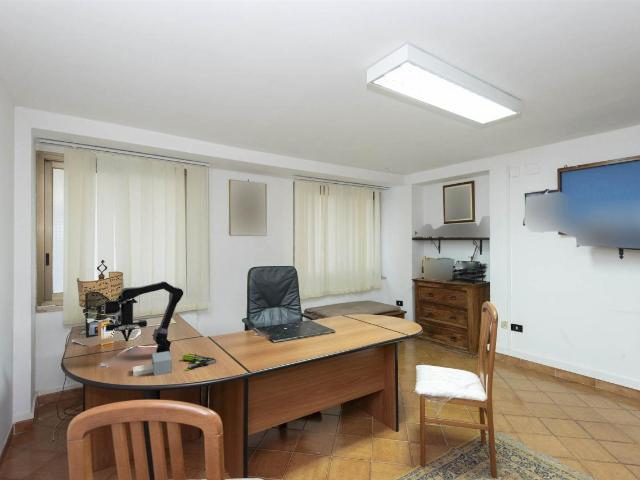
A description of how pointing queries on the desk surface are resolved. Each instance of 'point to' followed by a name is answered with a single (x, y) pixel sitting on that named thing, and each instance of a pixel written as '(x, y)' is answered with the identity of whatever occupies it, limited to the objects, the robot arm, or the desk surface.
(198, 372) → the desk surface
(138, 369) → the tile
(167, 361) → the overhang
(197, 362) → the toy gun
